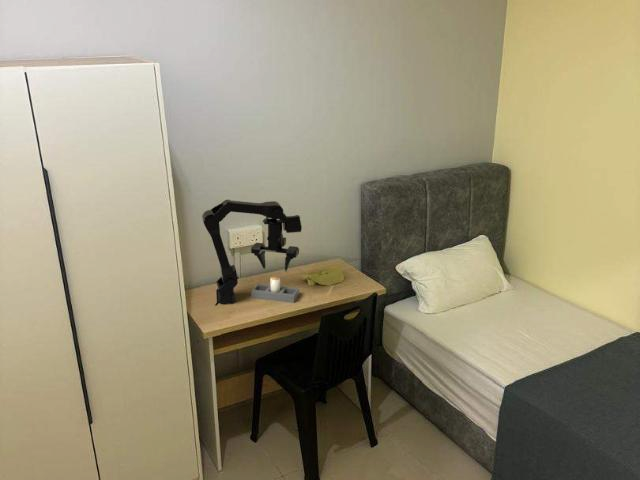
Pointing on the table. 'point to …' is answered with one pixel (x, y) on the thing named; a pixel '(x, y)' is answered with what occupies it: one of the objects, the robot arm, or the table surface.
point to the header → (275, 293)
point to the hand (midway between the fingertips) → (275, 269)
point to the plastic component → (324, 276)
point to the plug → (275, 284)
